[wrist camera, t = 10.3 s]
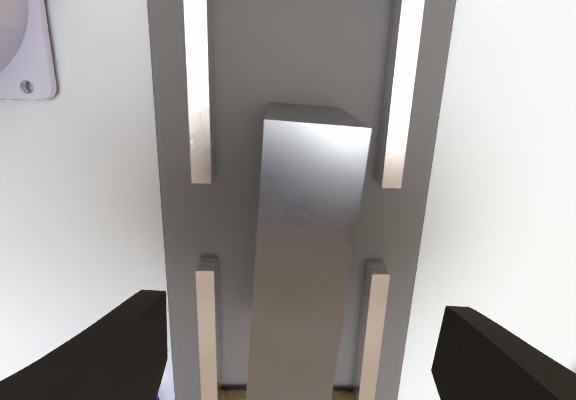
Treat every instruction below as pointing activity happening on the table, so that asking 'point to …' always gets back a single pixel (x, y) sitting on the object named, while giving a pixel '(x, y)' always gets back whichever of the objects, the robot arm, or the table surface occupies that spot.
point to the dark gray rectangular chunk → (304, 248)
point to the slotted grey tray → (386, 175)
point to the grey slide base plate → (248, 156)
